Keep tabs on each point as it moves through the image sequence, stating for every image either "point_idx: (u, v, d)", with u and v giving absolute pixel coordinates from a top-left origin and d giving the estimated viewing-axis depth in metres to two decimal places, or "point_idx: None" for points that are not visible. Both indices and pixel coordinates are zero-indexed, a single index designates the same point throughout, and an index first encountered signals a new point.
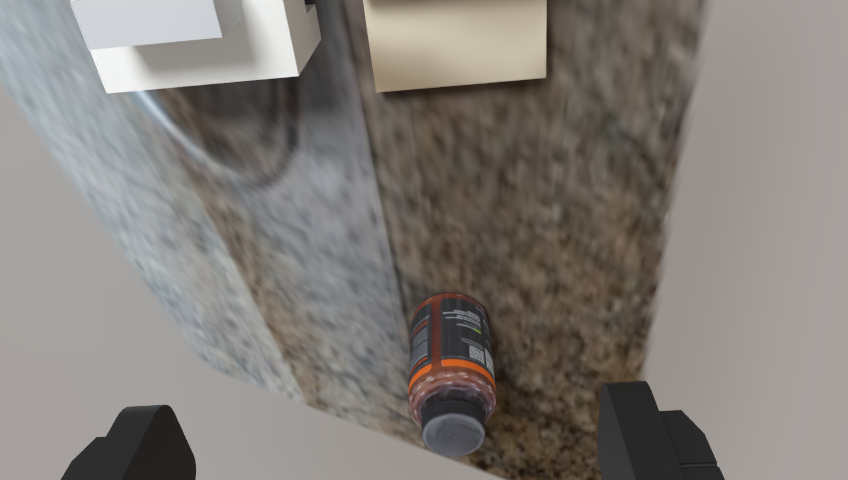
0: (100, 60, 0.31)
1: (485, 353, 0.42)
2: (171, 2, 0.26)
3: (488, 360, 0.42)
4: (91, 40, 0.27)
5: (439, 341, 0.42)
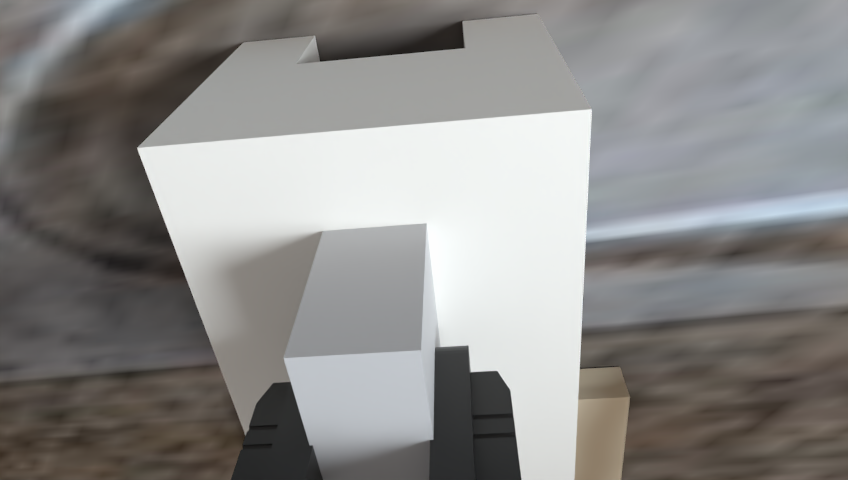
0: (231, 156, 0.11)
1: None
2: None
3: None
4: (313, 369, 0.09)
5: None
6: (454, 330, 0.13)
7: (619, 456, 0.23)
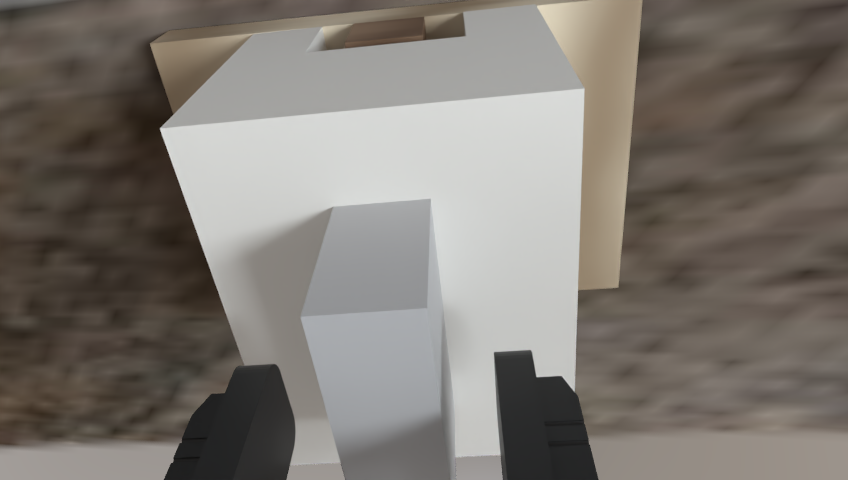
0: (248, 135, 0.12)
1: None
2: None
3: None
4: (327, 327, 0.10)
5: None
6: (457, 302, 0.14)
7: (627, 106, 0.19)
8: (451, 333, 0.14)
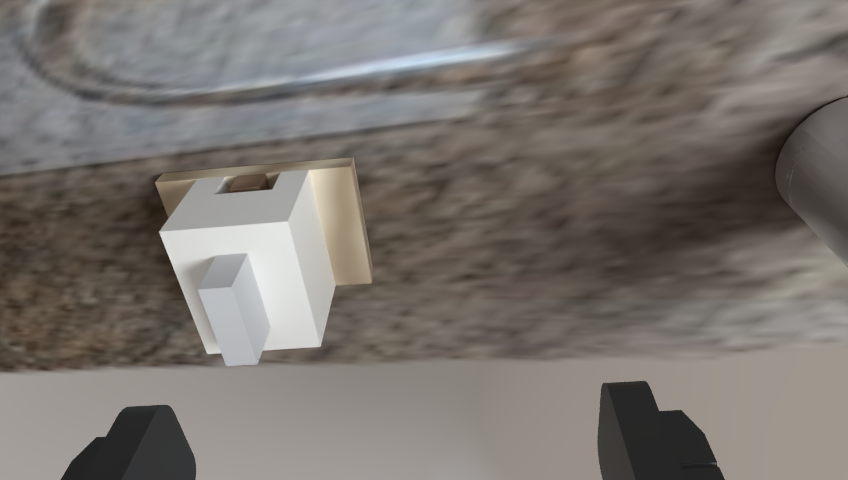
0: (187, 234, 0.38)
1: None
2: (243, 343, 0.38)
3: None
4: (205, 292, 0.36)
5: None
6: (263, 287, 0.40)
7: (355, 206, 0.44)
8: (263, 298, 0.40)
